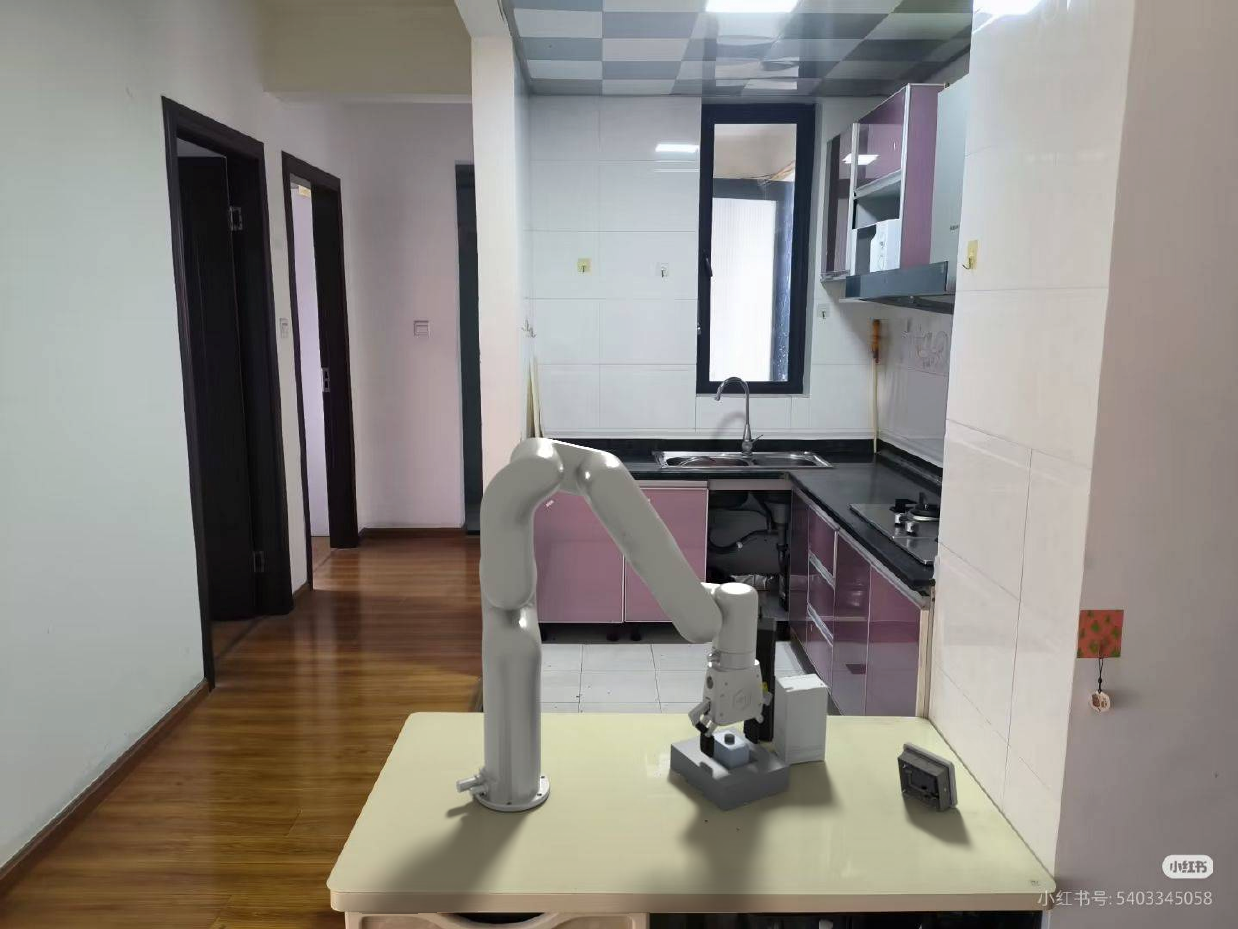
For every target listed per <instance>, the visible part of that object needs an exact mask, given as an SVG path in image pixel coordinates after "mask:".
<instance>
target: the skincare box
mask: <svg viewBox="0 0 1238 929" xmlns="http://www.w3.org/2000/svg"><path fill="white" fill-rule="evenodd" d="M828 697H829V686H828V685H827V684H825V682H824V681H823V680H821V678H820V677H819V676H818V675H817V674H816V673H810V674H804V675H796V676H795V675H794V676H785V677H778V678H776V679H775V708H774V739H772V741H773V743H772V744H773V746H772V747H773V748H772V749H773V751H774V752H775V753H776V754H775V755H776V756H778V757H779V758H780V759H782V760H783V761H785V762H786V763H788V764H789V765H793V764H794V765H795V764H801V763H808V762H816V761H823V760H825V759H826V757H825V756H826V739H827V738H826V737H827V720H828V719H827V717H828V700H829V698H828Z"/></svg>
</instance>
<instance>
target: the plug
mask: <svg viewBox="0 0 1238 929" xmlns="http://www.w3.org/2000/svg"><path fill="white" fill-rule="evenodd" d="M713 736H714V737H715V742H714V756H713V758H714V759H715V760H717V761H718V762H719V763H721V764H722V765H723V766H724V767H726V768H727V769H728V770H731V769H734V768H737V767H740V766H744V765H747V764H749V744H747V743H746V742H744V741H743V740H742V739H740V738H739V737H737V736H736V735H734V734H733V733H731V732H730V731H728V730H727V731H724V732H721V733H717V734H714V735H713Z"/></svg>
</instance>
